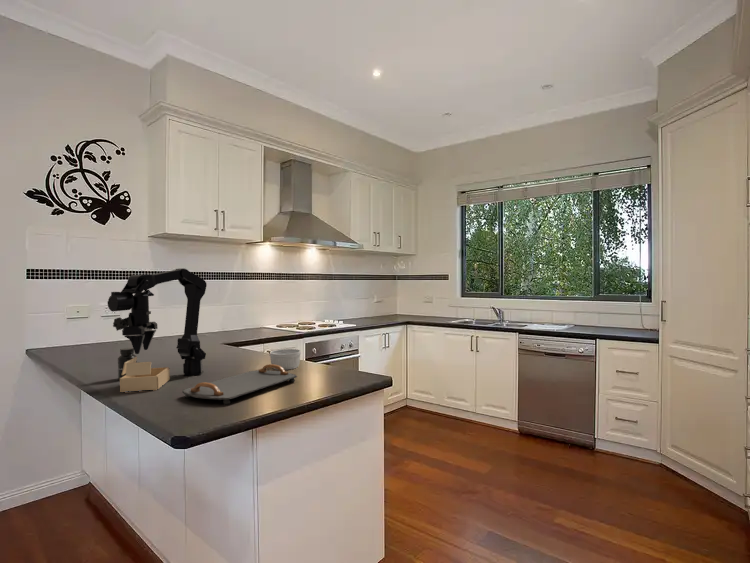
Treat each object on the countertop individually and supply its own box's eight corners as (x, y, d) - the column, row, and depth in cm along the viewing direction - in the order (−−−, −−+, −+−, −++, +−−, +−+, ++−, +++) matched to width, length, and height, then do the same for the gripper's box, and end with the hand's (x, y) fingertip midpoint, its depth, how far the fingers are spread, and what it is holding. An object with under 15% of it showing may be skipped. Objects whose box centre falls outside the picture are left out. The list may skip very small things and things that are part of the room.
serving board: (258, 375, 179) (258, 360, 179) (304, 381, 167) (303, 364, 167) (173, 401, 145) (172, 382, 145) (222, 410, 134) (222, 389, 133)
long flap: (134, 368, 169) (137, 357, 169) (122, 375, 158) (125, 363, 158) (133, 368, 169) (136, 356, 169) (121, 374, 157) (124, 362, 158)
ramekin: (294, 371, 184) (293, 354, 184) (264, 370, 186) (264, 354, 186) (305, 364, 197) (305, 348, 197) (277, 364, 199) (277, 348, 199)
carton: (170, 379, 174) (170, 366, 174) (158, 390, 158) (157, 376, 158) (136, 381, 172) (135, 369, 172) (120, 392, 156) (119, 378, 156)
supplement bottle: (115, 381, 174) (114, 350, 174) (120, 377, 181) (119, 348, 180) (135, 379, 176) (134, 349, 176) (139, 375, 182) (138, 346, 182)
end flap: (150, 374, 158) (151, 361, 159) (150, 374, 157) (150, 361, 158) (126, 375, 156) (126, 363, 157) (125, 375, 156) (126, 363, 157)
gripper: (126, 308, 170) (127, 349, 170) (105, 312, 151) (106, 357, 152) (157, 307, 172) (158, 347, 172) (140, 310, 153) (141, 355, 154)
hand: (141, 351), depth 162 cm, fingers open, 9 cm apart
